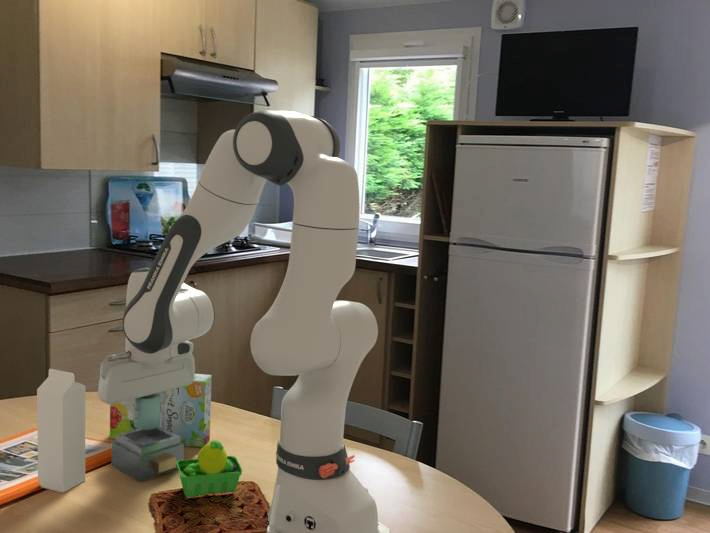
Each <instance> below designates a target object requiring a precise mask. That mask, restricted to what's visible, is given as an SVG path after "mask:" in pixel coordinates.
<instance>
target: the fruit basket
mask: <svg viewBox="0 0 710 533" xmlns="http://www.w3.org/2000/svg"><path fill="white" fill-rule="evenodd" d="M176 464H177V468H178V469H177V470H178V474H179V477H180V483H181V487H182V489H183V494H184V496H185V498H186V497H194V496H199V495H200V496H201V495H207V494H211V493H222V492H234V491H235V492H236V489H237V486H238V484H239V480H240V477H241V475H242V473H243V468H242V467H241V464H240V463H239V461H238V459H237V456H233V455H228V454H227V451H226V450H225V446H223V443H221V442H220V441H219V440H217V439H216V440H215V439H214V440H211V441H209V442H207V443H206V444H205V445H204V446H203V447H201V449H200V450H199V452H198V454H197V458H192V459H183V460H179V461H177V462H176Z"/></svg>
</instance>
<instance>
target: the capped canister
mask: <svg viewBox="0 0 710 533" xmlns="http://www.w3.org/2000/svg"><path fill="white" fill-rule="evenodd" d="M160 403H161V395H160V394H159V393H155V394H151V395H147V396H143V397H139V398H135V403H134V408H136V409H138V410H139V418H138V419H134V427H136V428H138V429H143V430H148V429H154V428H157V427H159V426H160Z"/></svg>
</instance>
